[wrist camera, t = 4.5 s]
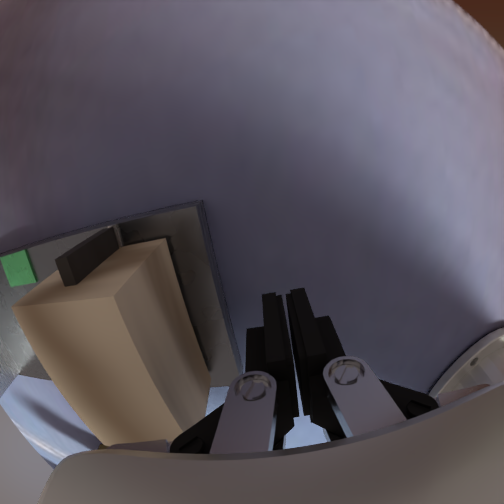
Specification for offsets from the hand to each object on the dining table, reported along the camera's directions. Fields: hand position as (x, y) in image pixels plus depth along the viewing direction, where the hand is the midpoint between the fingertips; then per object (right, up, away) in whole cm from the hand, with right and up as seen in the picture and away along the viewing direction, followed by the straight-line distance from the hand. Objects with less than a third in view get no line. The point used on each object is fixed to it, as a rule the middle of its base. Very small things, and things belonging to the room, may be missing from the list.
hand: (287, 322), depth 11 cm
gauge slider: (-7, 0, +2) cm, 7 cm away
